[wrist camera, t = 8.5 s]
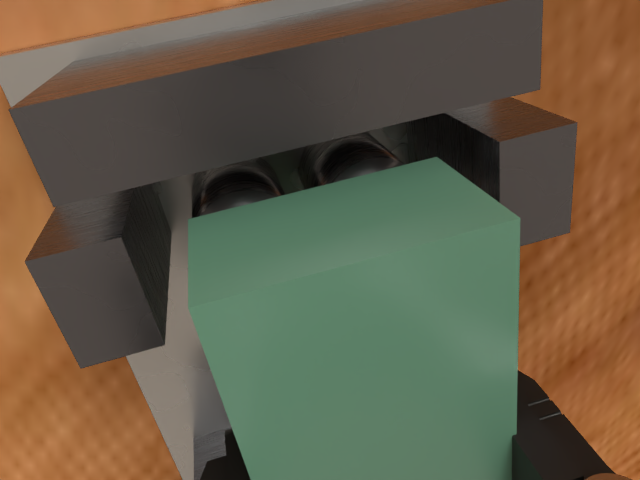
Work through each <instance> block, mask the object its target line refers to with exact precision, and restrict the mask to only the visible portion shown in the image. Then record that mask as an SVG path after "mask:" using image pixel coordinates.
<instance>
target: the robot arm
mask: <svg viewBox="0 0 640 480" xmlns="http://www.w3.org/2000/svg"><path fill="white" fill-rule="evenodd" d="M225 447H226V456H222V457H219V458H216V459H213V460H209V461H207V463H206V465H205V468H204V470H203V473H202V476H201V478H200V480H251V479H250V476H249V474H248V471H247V468H246V465H245V463H244V460H243V457H242V454H241V452H240V449H239V446H238V443H237V441H236V438H235V435H234V432H233V430H232V429H228V430H225ZM512 480H632V479H629V478H627V477H624V476H621V475H618V474H616V473H614V472H613V471H612V470H611V469H610V468H609V467H608V466H607V465H606V464H605V462H604V461H603V460H602V459H601V458H600V457H599V455H598V454H597V453H596V452H595V451H594V450H593V448H592V447H591V446H590V445H589V444H588V442H587V441H586V440H585V439H584V438H583V437H582V435H581V434H580V433H579V432H578V431H577V430H576V428H575V427H574V426H573V425H572V424H571V423H570V421H569V420H568V419H567V418H566V417H565V415H564V414H563V415H562V414H561V411H560V410H559V408H558V407H557V406H556V405H555V404H554V403H553V401H552V400H551V401H550V400H549V397H548V396H547V394H546V393H545V392H544V391H543V390H542V388H541V387H540V386H539V385H538V384H537V383H536V381H535V380H533V379H532V378H530V377H528V376H527V375H525V374H523V373H522V372H520V371H518V379H517V434H516V435H513V436H512Z"/></svg>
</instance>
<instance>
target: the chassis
mask: <svg viewBox="0 0 640 480" xmlns="http://www.w3.org/2000/svg"><path fill="white" fill-rule="evenodd" d="M542 16H543V0H259V1H254V2H249V3H244V4H240V5H235V6H230V7H225V8H220V9H215V10H210V11H206V12H201V13H196V14H191V15H186V16H181V17H176V18H172V19H167V20H162V21H157V22H152V23H147V24H142V25H138V26H133V27H128V28H123V29H118V30H113V31H109V32H104V33H99V34H94V35H89V36H84V37H79V38H75V39H70V40H65V41H60V42H55V43H50V44H45V45H41V46H36V47H31V48H26V49H21V50H16V51H11V52H7V53H2V54H0V85H1V87H2V89H3V91H4V93H5V95H6V98H7V100H8V102H9V104H10V106H11V108H10V109H9V112H10V114H11V116H12V118H13V120H14V123H15V125H16V127H17V129H18V131H19V133H20V136H21V138H22V140H23V142H24V144H25V146H26V148H27V151H28V153H29V155H30V157H31V159H32V161H33V164H34V166H35V168H36V170H37V172H38V174H39V176H40V179H41V181H42V183H43V185H44V187H45V189H46V192H47V194H48V196H49V198H50V200H51V202H52V204H53V207H56V208H55V209H54V211H53V213H52V215H51V216H50V218H49V220H48V222H47V223H46V225H45V227H44V229H43V230H42V232H41V234H40V236H39V237H38V239H37V241H36V243H35V244H34V246H33V248H32V250H31V251H30V253H29V255H28V257H27V258H26V260H25V263H26V265H27V267H28V269H29V271H30V273H31V275H32V277H33V278H34V280H35V282H36V284H37V286H38V288H39V290H40V292H41V294H42V296H43V298H44V299H45V301H46V303H47V305H48V307H49V309H50V311H51V313H52V315H53V317H54V319H55V320H56V322H57V324H58V326H59V328H60V330H61V332H62V334H63V336H64V338H65V340H66V341H67V343H68V345H69V347H70V349H71V351H72V353H73V355H74V357H75V359H76V361H77V362H78V364H79V366H80V368H85V367H88V366H92V365H95V364H99V363H103V362H106V361H110V360H113V359H117V358H121V357H124V356H126V358H127V360H128V362H129V364H130V366H131V369H132V371H133V373H134V375H135V377H136V379H137V382H138V384H139V386H140V388H141V390H142V393H143V395H144V397H145V399H146V401H147V403H148V406H149V408H150V410H151V412H152V414H153V416H154V419H155V421H156V423H157V425H158V427H159V429H160V432H161V434H162V436H163V438H164V440H165V442H166V445H167V447H168V449H169V451H170V453H171V455H172V458H173V460H174V462H175V464H176V466H177V468H178V471H179V473H180V475H181V477H182V479H183V480H200V478H201V476H202V473H203V470H204V468H205V465H206V463H207V461H209V460H213V459H216V458H219V457H222V456H226V447H225V430H228V429H232V427H231V424H230V422H229V419H228V416H227V413H226V411H225V408H224V405H223V402H222V400H221V397H220V394H219V391H218V389H217V386H216V383H215V380H214V378H213V375H212V372H211V369H210V367H209V364H208V361H207V358H206V356H205V353H204V350H203V348H202V345H201V342H200V339H199V337H198V334H197V331H196V328H195V326H194V323H193V320H192V317H191V315H190V312H189V309H188V219H191V218H195V217H199V216H203V215H207V214H211V213H215V212H219V211H223V210H227V209H231V208H235V207H239V206H243V205H247V204H251V203H254V202H258V201H262V200H266V199H270V198H274V197H278V196H282V195H286V194H290V193H294V192H298V191H302V190H306V189H310V188H314V187H318V186H322V185H326V184H330V183H334V182H338V181H342V180H346V179H350V178H354V177H358V176H362V175H366V174H370V173H374V172H378V171H382V170H386V169H390V168H394V167H398V166H402V165H406V164H410V163H414V162H418V161H422V160H426V159H430V158H434V157H438V158H439V159H441V160H442V161H443V162H445V163H446V164H447V165H449V166H450V167H451V168H453V169H454V170H456V171H457V172H458V173H460V174H461V175H462V176H464V177H465V178H466V179H468V180H469V181H471V182H472V183H473V184H475V185H476V186H477V187H479V188H480V189H481V190H483V191H484V192H486V193H487V194H488V195H490V196H491V197H492V198H494V199H495V200H496V201H498V202H499V203H501V204H502V205H503V206H505V207H506V208H507V209H509V210H510V211H511V212H513V213H514V214H516V215H517V216H518V217H520V246H523V245H527V244H530V243H534V242H538V241H541V240H545V239H548V238H552V237H556V236H559V235H563V234H566V233H570V223H571V208H572V193H573V179H574V164H575V149H576V135H577V122H575V121H572V120H570V119H567V118H564V117H562V116H559V115H556V114H554V113H551V112H548V111H546V110H543V109H540V108H538V107H535V106H532V105H530V104H527V103H524V102H522V101H519V100H516V99H514V98H511V96H515V95H520V94H524V93H528V92H532V91H536V90H540V79H541V47H542Z"/></svg>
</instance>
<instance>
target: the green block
mask: <svg viewBox="0 0 640 480" xmlns="http://www.w3.org/2000/svg"><path fill="white" fill-rule="evenodd" d="M519 265H520V217H518V216H517V215H516V214H514V213H513V212H511V211H510V210H509V209H507V208H506V207H505V206H503V205H502V204H501V203H499V202H498V201H496V200H495V199H494V198H492V197H491V196H490V195H488V194H487V193H486V192H484V191H483V190H481V189H480V188H479V187H477V186H476V185H475V184H473V183H472V182H471V181H469V180H468V179H466V178H465V177H464V176H462V175H461V174H460V173H458V172H457V171H456V170H454V169H453V168H451V167H450V166H449V165H447V164H446V163H445V162H443V161H442V160H441V159H439V158H438V157H434V158H430V159H426V160H422V161H418V162H414V163H410V164H406V165H402V166H398V167H394V168H390V169H386V170H382V171H378V172H374V173H370V174H366V175H362V176H358V177H354V178H350V179H346V180H342V181H338V182H334V183H330V184H326V185H322V186H318V187H314V188H310V189H306V190H302V191H298V192H294V193H290V194H286V195H282V196H278V197H274V198H270V199H266V200H262V201H258V202H254V203H251V204H247V205H243V206H239V207H235V208H231V209H227V210H223V211H219V212H215V213H211V214H207V215H203V216H199V217H195V218H191V219H188V309H189V312H190V315H191V317H192V320H193V323H194V326H195V328H196V331H197V334H198V337H199V339H200V342H201V345H202V348H203V350H204V353H205V356H206V358H207V361H208V364H209V367H210V369H211V372H212V375H213V378H214V380H215V383H216V386H217V389H218V391H219V394H220V397H221V400H222V402H223V405H224V408H225V411H226V413H227V416H228V419H229V422H230V424H231V427H232V430H233V432H234V435H235V438H236V441H237V443H238V446H239V449H240V452H241V454H242V457H243V460H244V463H245V465H246V468H247V471H248V474H249V476H250V479H251V480H512V436H513V435H516V434H517V379H518V322H519Z"/></svg>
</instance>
